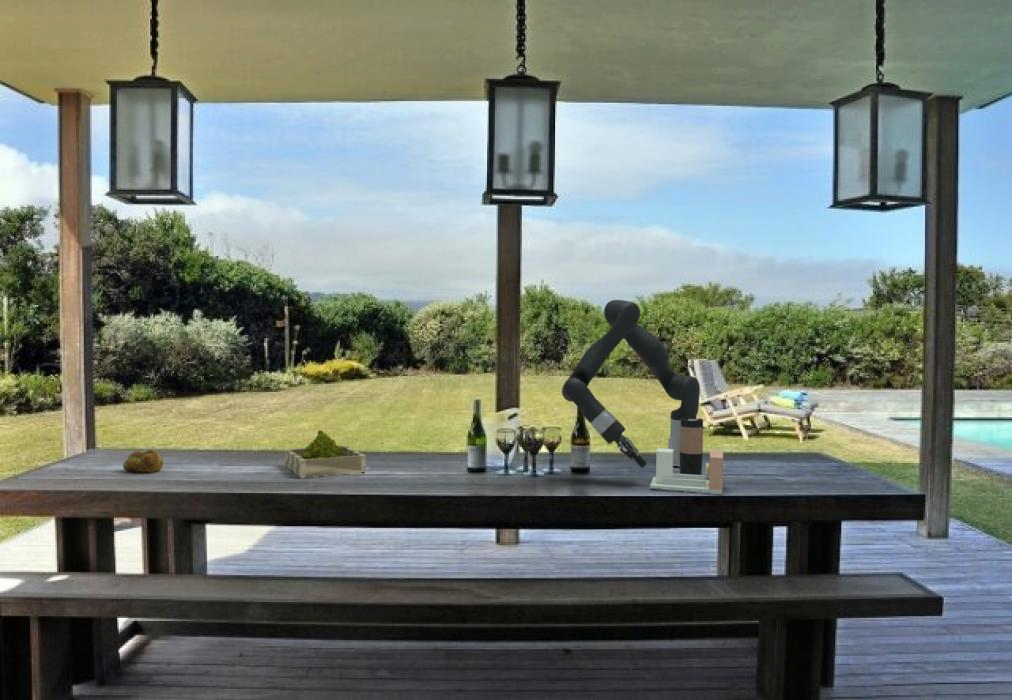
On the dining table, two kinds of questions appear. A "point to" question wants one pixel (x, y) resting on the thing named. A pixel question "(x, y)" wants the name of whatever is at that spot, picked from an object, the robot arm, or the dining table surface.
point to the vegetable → (322, 448)
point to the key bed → (697, 477)
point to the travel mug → (691, 446)
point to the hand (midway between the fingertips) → (644, 465)
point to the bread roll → (143, 462)
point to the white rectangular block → (664, 464)
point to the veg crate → (325, 463)
